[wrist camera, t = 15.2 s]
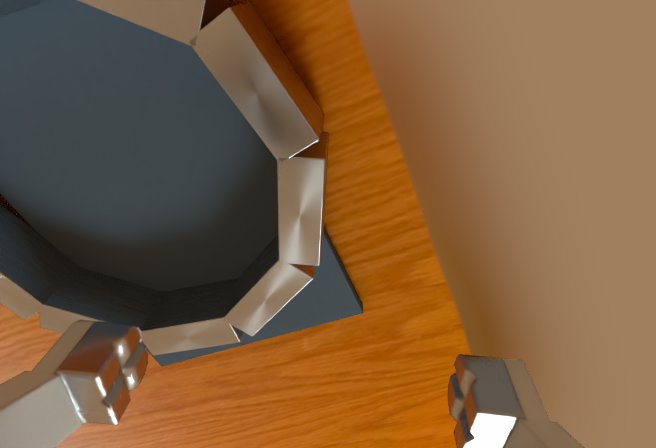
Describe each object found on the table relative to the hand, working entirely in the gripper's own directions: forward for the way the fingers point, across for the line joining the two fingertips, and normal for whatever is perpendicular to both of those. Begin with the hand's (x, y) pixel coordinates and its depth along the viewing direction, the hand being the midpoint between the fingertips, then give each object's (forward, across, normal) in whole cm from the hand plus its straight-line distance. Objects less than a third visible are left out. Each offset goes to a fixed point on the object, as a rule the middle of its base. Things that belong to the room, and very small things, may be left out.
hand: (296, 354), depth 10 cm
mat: (+10, +9, 0) cm, 14 cm away
